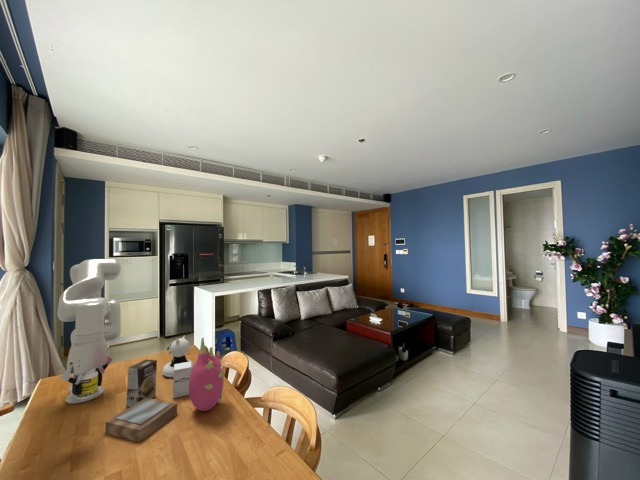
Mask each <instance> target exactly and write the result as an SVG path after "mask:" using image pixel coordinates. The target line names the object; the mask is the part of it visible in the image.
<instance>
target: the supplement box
mask: <svg viewBox="0 0 640 480" xmlns="http://www.w3.org/2000/svg"><path fill="white" fill-rule="evenodd" d="M191 361H192V360H191ZM191 361H190V362H185V363H179V364H174V376H173V377H172V378H173V379H172V381H173V383H172V399H177V398H180V397H184V396H190V394H189V379H190V374H191V371H192V370H191V369H193V368H192V363H191Z"/></svg>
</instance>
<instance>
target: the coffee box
mask: <svg viewBox="0 0 640 480" xmlns="http://www.w3.org/2000/svg"><path fill="white" fill-rule="evenodd" d="M157 362H158V360H156V359H144V360H142V361H139V362H137V363H134V364H132V365H131V366H128V367H127V369H128V370H127V389H126V404H125V405H126V407H129V408H130V407H131V406H133V405H135V404H136V403H138V402H140V401H141V400H143V399H145V398H146V397H147V398H152V399H155V397H156V395H157V369H158V368H157V367H158V366H157V364H158V363H157Z"/></svg>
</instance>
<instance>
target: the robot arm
mask: <svg viewBox="0 0 640 480" xmlns="http://www.w3.org/2000/svg"><path fill="white" fill-rule="evenodd" d="M121 269H122V268H121V263H120V262H119V261H118V260H117V259H115V258H93V259H85V260H83V261H82V262H80V263H79V264H78V263H77V264H74V265H73V266H72V267H70V269H69V276H70V280H71V283H72V285H70V286H68V287H67V288H66V289H64V291H63V292H62V293H61V295H60V297H59V299H58V306H57V318H58V320H60V321H61V322H65V323H67V322H68V323H69V322H74V321H75V327H74V329H73V330H72V331H71V334H70V343H71V345H70V347H69V351H68V357H67V361H66V362H67V363H66V370H65V371H64V372H63V373H62V374H61V377H60V380H63V381H66V382H67V383H70V384H71V386H69V387H68V388H67V390H68V391H70V394H69V395H68V396H67V397H65V398H66V399H65V402H66V403H67V404H70V405H71V404H72V405H73V404H74V405H75V404H81V403H86V402H88V401H91V400H93V399H96V398H97V397H100V396H101V395H102V394H104V391H105V388H104V387H103V386H102V382H103V374H104V373H105V371H106V369H107V367H108V366H109V365H110V364H111V363H112V361H113V358H112V357H110V356H109V355H108V346H107V345H108V344H109V343H114V342H117V341H118V340H119V339H120V338H121V333H122V332H121V331H122V329H121V328H122V323H121V321H122V320H121V319H122V317H121V313H122V311H121V303H120V302H119V300H117V299H116V298H115V299H114V298H112V299H111V298H109V299H107V298H106V297H102V288H103V287H104V285H105V281H114V280H116V279H118V277H119V276H120V275H121V274H120V273H121ZM105 321H107V322H105ZM92 369H96V370H95V371H97V372H98V388H97V393H96V394H95V395H94V396H92V397H89V398H86V399H78V398H77V396H79V395H81V393H82V383H80V380H81V378H82V375H83V374H84V373H86V372H88V371H90V370H92ZM70 375H71V376H70Z"/></svg>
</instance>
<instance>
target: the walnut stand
mask: <svg viewBox="0 0 640 480" xmlns="http://www.w3.org/2000/svg"><path fill="white" fill-rule="evenodd" d="M177 414H178V403H176V402H171V401H166V400H161V399H156V398H147V397H146V398H145V399H143V400H141V401H140V402H138V403H136V404H135V405H133V406H131V407H130V406H129V407H128V408H126V409H124V410H123V411H121V412H120V413H118V414H116V415H114V416H113V417H111V418H109V419H107V420H106V421H105V431H104V432H105V434H108V435H111V436H114V437H115V436H116V437H118V438H122V439H125V440H130V441H134V442H137V443H141V442H142V441H143V440H144V439H146V438H147V437H148V436H149V435H151V434H153V432H155V431H156V430H157V429H159V428H160V427H162V426H163V425H164V424H165V423H167V422H168V421H169V420H171V419H172V418H174V417H175V416H177Z"/></svg>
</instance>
